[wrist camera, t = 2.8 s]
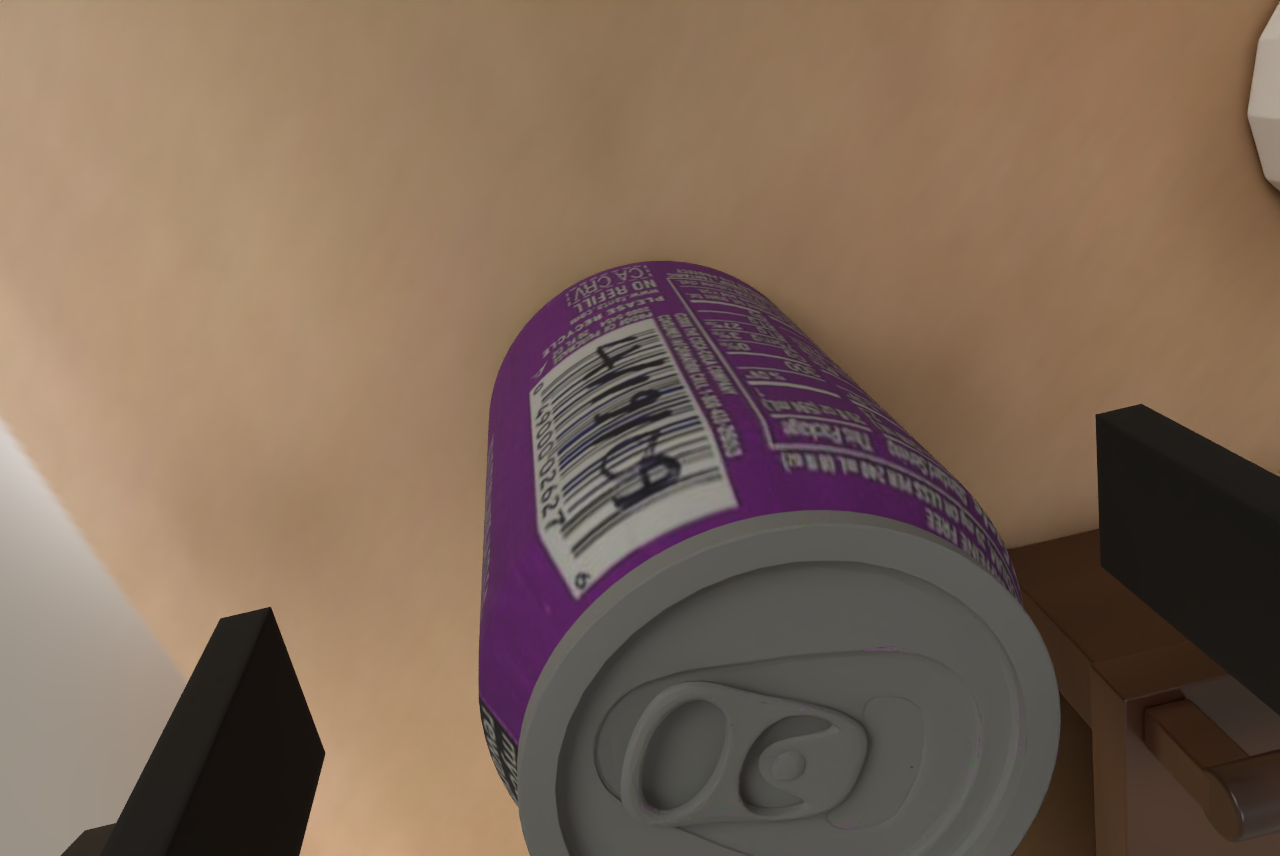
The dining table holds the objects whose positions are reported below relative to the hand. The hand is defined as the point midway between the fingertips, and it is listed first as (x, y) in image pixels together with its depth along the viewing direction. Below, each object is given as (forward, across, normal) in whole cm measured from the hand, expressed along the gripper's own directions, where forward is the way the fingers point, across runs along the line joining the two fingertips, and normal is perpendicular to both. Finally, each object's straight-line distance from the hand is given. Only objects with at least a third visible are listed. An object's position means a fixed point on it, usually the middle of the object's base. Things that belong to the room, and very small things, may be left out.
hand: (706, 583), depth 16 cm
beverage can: (+7, 0, 0) cm, 7 cm away
